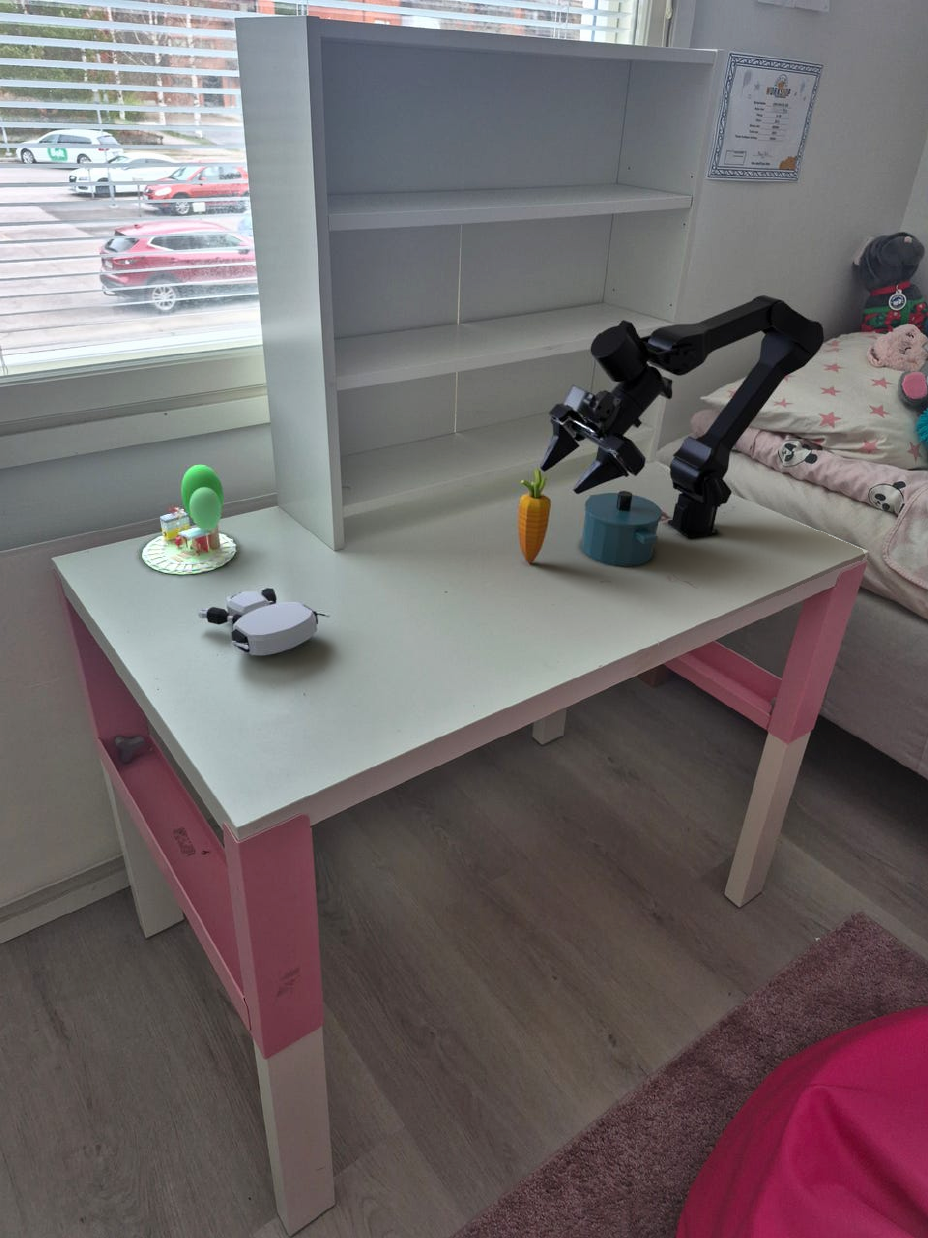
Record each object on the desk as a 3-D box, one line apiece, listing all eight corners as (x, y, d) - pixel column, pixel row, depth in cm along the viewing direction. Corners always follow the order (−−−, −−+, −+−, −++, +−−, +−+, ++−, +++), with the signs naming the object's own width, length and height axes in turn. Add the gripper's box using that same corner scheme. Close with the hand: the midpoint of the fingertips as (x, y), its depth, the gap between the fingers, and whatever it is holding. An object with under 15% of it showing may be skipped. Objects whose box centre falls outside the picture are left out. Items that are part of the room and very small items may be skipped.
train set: (125, 455, 130) (220, 447, 134) (138, 536, 137) (228, 525, 141) (132, 493, 118) (236, 483, 123) (146, 580, 125) (244, 567, 130)
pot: (620, 524, 149) (625, 486, 146) (675, 568, 136) (683, 528, 133) (561, 532, 145) (566, 494, 142) (612, 578, 132) (619, 538, 129)
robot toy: (194, 632, 115) (253, 676, 106) (189, 602, 113) (248, 644, 104) (274, 603, 123) (335, 642, 113) (270, 574, 121) (332, 611, 111)
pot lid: (634, 495, 144) (637, 475, 143) (676, 525, 135) (680, 504, 133) (570, 503, 140) (572, 482, 138) (608, 535, 131) (611, 513, 129)
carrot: (535, 573, 132) (545, 482, 125) (507, 564, 135) (515, 474, 127) (550, 561, 136) (560, 472, 128) (523, 552, 138) (531, 464, 130)
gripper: (565, 349, 130) (497, 428, 132) (641, 384, 116) (564, 472, 118) (601, 395, 138) (536, 470, 139) (677, 433, 124) (603, 516, 125)
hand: (558, 480), depth 130 cm, fingers open, 9 cm apart
